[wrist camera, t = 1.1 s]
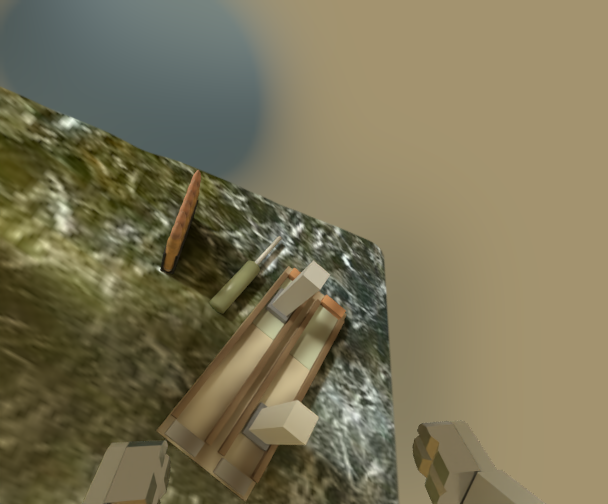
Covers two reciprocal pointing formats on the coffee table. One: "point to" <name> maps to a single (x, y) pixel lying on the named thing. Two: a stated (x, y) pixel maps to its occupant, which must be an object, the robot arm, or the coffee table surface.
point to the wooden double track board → (252, 386)
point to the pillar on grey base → (297, 291)
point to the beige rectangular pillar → (280, 425)
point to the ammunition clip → (181, 226)
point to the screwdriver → (239, 282)
